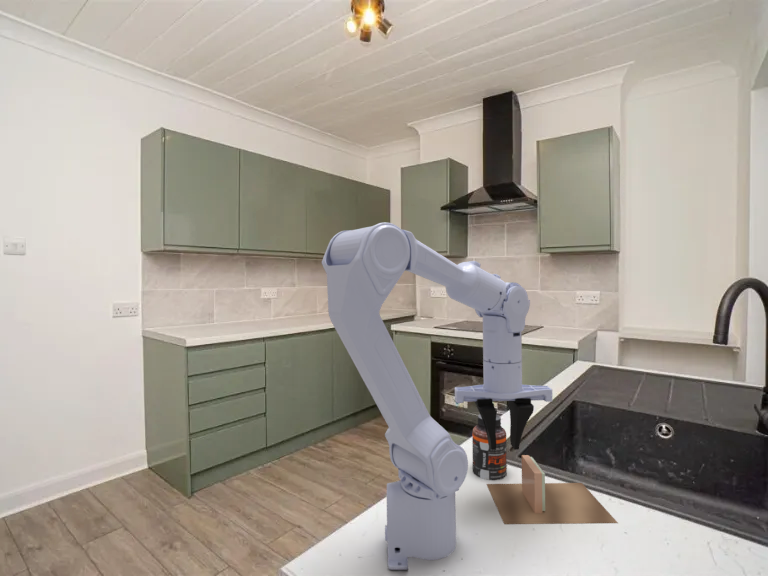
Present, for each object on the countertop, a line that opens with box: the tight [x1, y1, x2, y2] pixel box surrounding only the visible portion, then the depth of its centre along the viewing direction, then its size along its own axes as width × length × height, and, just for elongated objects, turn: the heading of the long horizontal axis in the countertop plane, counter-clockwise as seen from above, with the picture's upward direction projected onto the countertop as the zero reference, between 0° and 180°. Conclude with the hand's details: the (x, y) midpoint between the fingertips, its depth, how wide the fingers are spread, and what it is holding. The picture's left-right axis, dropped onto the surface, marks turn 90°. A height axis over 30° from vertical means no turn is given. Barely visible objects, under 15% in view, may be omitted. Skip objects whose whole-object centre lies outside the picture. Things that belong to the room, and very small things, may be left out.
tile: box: [521, 454, 546, 513], centre depth 63 cm, size 2×6×6 cm, turn 179°
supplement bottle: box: [471, 413, 508, 481], centre depth 73 cm, size 6×6×11 cm
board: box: [486, 482, 619, 525], centre depth 63 cm, size 16×11×1 cm
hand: (503, 447), depth 63 cm, fingers open, 3 cm apart
